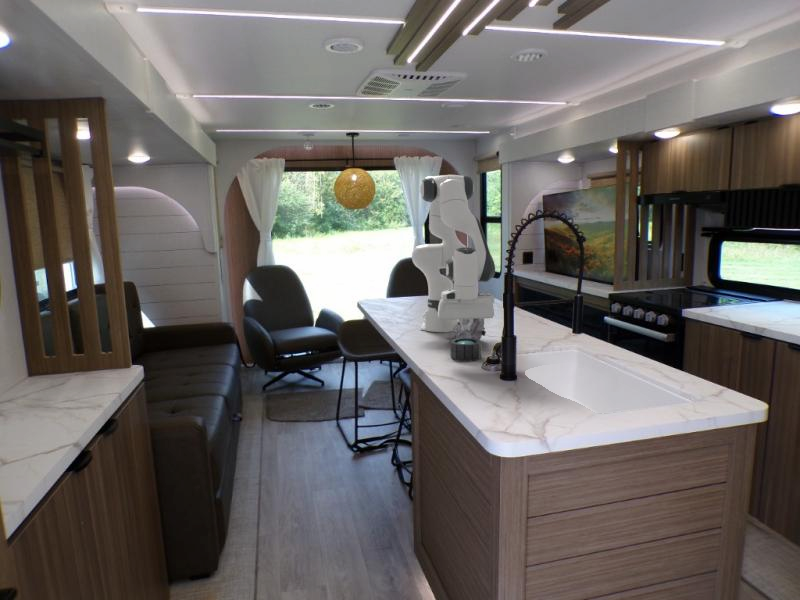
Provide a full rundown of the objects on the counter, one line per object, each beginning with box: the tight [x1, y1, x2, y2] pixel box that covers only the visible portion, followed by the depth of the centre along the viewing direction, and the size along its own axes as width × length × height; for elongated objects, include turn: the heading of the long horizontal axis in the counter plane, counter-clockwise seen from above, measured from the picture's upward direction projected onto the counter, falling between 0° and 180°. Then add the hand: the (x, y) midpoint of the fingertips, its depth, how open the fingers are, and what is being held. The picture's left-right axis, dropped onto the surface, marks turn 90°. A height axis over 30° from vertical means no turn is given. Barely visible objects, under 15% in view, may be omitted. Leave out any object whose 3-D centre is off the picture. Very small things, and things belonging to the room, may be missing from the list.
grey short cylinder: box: [449, 338, 482, 362], centre depth 197 cm, size 11×11×6 cm
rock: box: [452, 318, 487, 340], centre depth 219 cm, size 22×10×15 cm, turn 8°
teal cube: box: [457, 341, 474, 344], centre depth 197 cm, size 6×6×5 cm
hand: (465, 330), depth 195 cm, fingers closed
